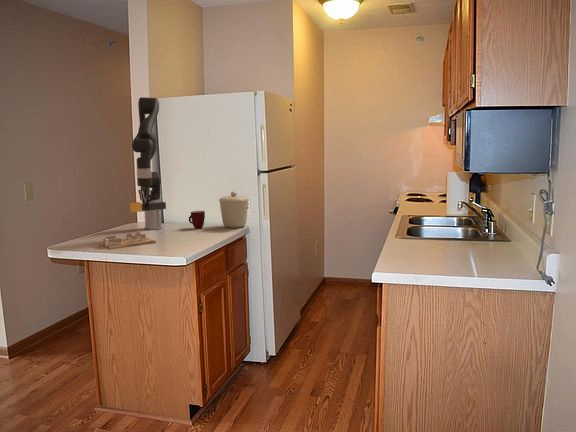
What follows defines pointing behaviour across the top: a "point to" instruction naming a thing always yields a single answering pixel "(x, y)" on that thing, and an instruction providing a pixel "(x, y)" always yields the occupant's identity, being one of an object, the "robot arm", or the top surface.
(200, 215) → the mug
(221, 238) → the top surface
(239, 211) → the canister
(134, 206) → the grey and orange bar
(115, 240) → the board
